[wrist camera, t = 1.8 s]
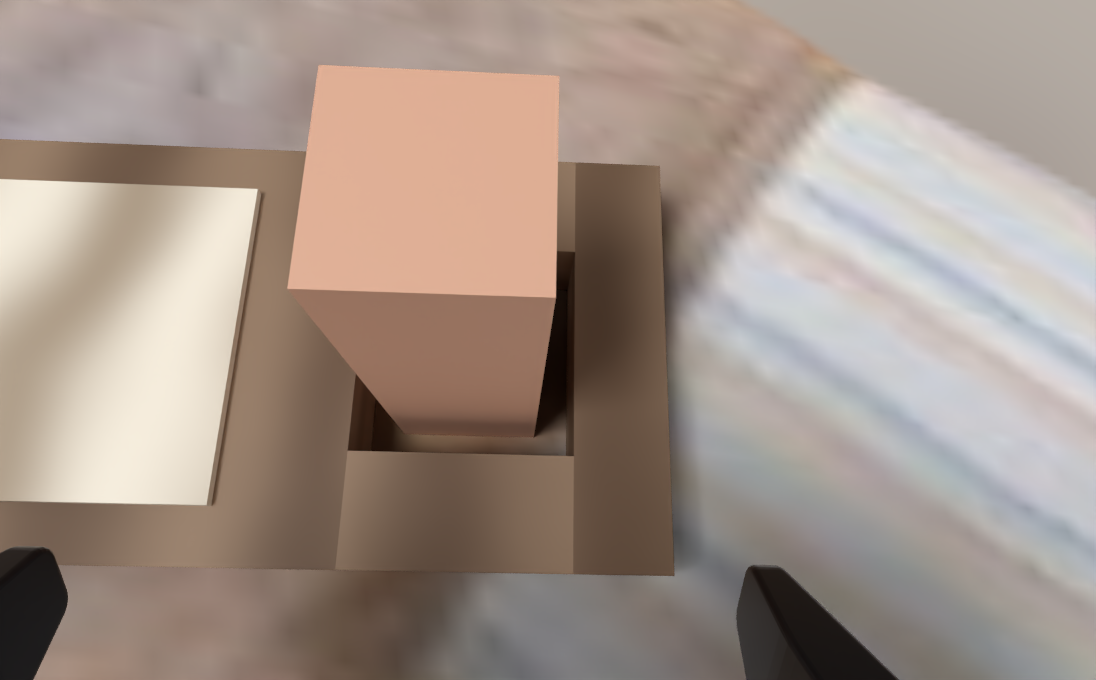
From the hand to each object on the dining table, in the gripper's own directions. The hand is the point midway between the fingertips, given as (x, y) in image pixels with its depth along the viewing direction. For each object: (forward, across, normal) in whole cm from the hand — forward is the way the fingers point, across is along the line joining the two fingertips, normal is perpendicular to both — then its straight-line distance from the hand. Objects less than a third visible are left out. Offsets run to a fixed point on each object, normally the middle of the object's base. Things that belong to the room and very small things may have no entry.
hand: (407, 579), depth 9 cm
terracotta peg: (+13, 0, +4) cm, 14 cm away
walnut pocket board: (+13, +6, +4) cm, 15 cm away
